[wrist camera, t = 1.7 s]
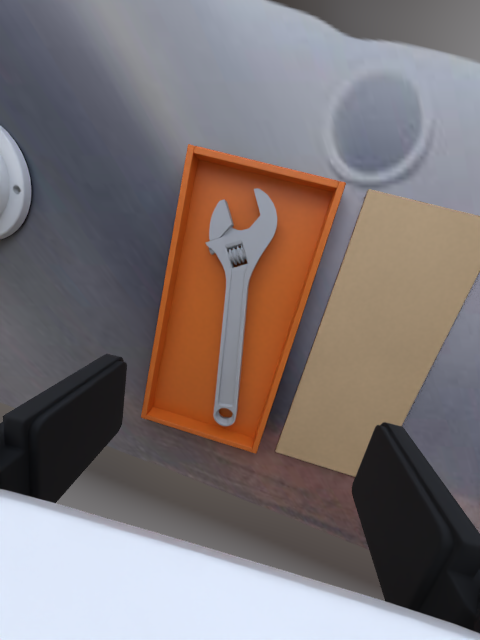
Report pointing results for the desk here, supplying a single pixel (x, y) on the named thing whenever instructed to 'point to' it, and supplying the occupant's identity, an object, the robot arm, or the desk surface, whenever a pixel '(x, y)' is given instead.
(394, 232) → the desk mat
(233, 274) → the adjustable wrench
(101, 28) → the desk surface
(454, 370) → the desk surface
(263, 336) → the tool tray
